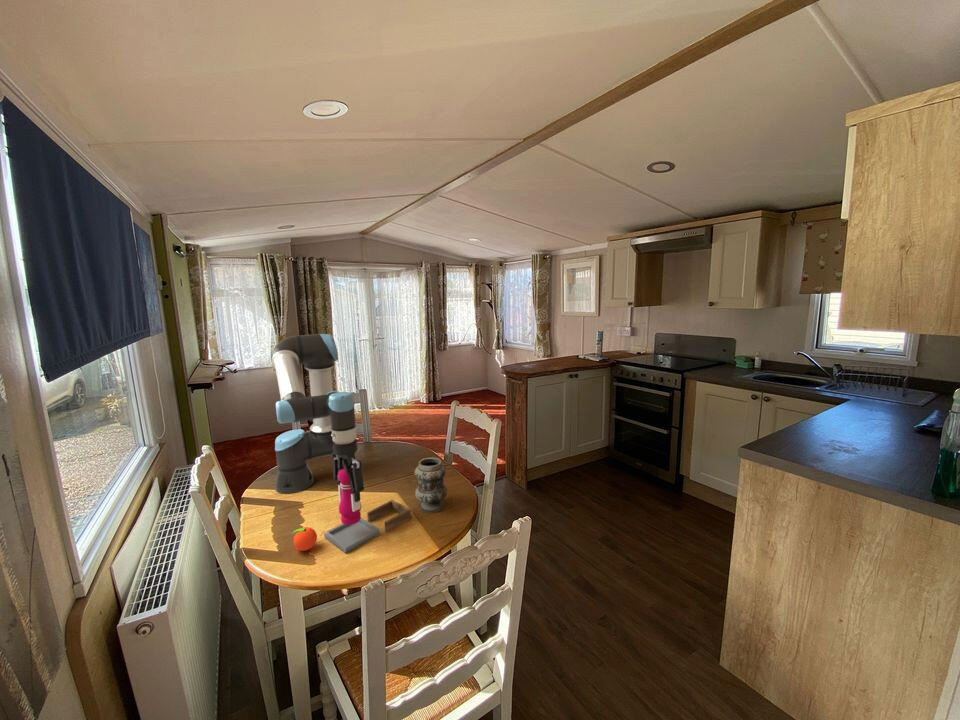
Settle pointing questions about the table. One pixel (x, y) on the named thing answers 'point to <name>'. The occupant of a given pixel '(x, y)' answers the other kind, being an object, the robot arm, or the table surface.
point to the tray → (351, 535)
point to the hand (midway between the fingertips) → (350, 505)
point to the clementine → (305, 538)
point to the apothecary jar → (430, 485)
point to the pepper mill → (347, 500)
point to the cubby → (387, 507)
